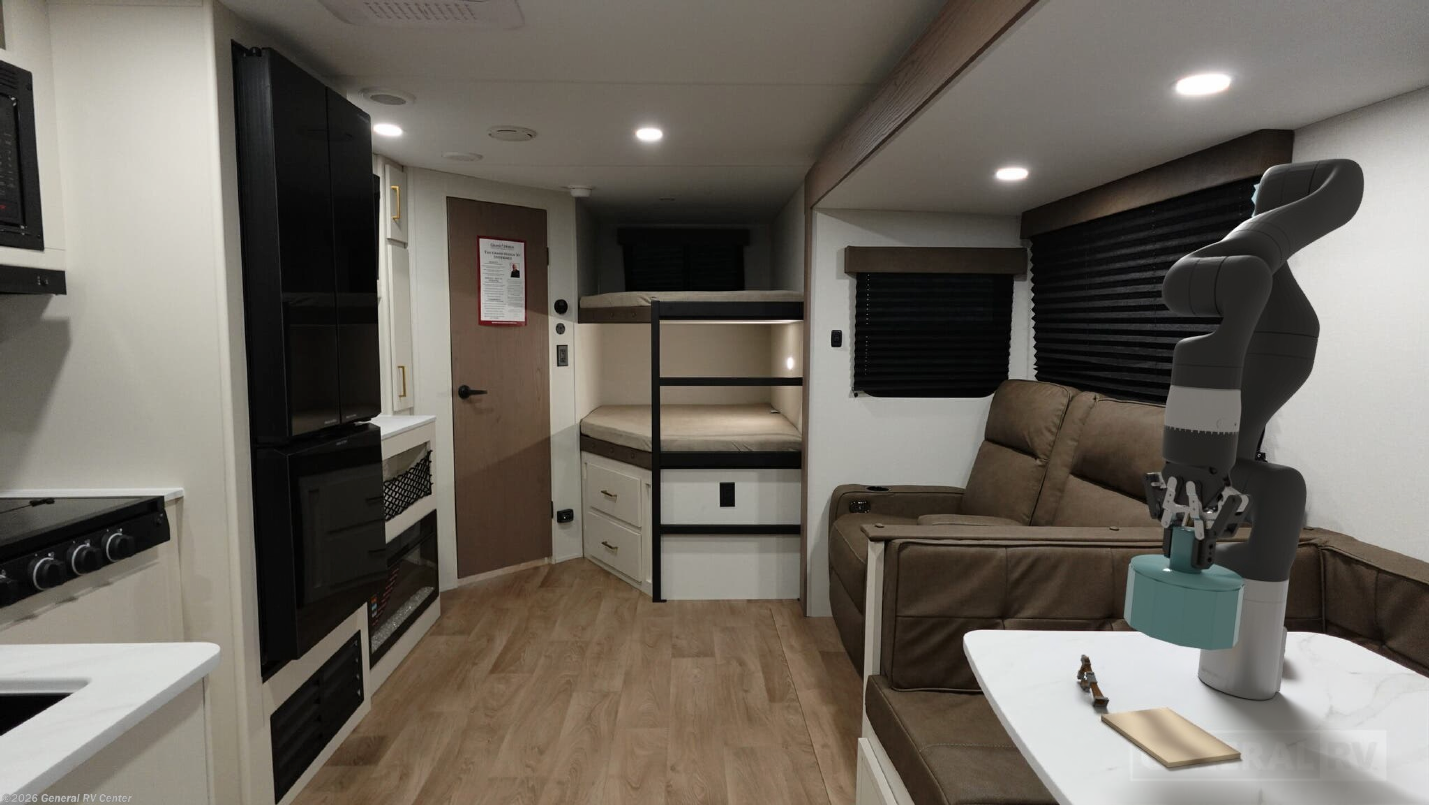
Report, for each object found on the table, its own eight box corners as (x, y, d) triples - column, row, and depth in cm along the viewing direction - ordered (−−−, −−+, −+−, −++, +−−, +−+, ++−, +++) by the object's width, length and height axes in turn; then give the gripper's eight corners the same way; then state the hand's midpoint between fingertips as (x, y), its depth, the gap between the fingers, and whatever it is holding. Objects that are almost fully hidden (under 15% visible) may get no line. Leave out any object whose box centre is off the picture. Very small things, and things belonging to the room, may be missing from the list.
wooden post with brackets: (1083, 672, 106) (1091, 651, 104) (1101, 720, 100) (1110, 698, 97) (1070, 671, 107) (1078, 650, 104) (1087, 718, 100) (1095, 697, 98)
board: (1167, 711, 98) (1167, 707, 98) (1240, 757, 87) (1240, 753, 87) (1100, 719, 95) (1101, 714, 95) (1168, 767, 85) (1168, 762, 85)
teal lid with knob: (1177, 607, 97) (1187, 515, 95) (1261, 645, 85) (1273, 542, 84) (1104, 613, 94) (1113, 518, 93) (1180, 653, 83) (1192, 546, 81)
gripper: (1283, 433, 81) (1265, 582, 83) (1176, 417, 95) (1163, 544, 97) (1229, 434, 79) (1213, 585, 81) (1128, 417, 93) (1116, 547, 95)
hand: (1186, 562), depth 89 cm, fingers closed on teal lid with knob, 3 cm apart
